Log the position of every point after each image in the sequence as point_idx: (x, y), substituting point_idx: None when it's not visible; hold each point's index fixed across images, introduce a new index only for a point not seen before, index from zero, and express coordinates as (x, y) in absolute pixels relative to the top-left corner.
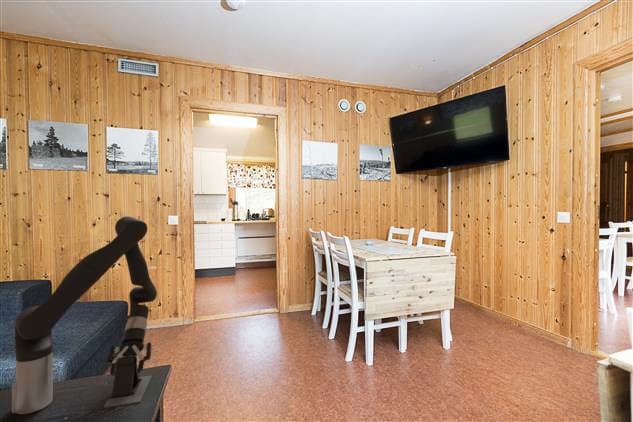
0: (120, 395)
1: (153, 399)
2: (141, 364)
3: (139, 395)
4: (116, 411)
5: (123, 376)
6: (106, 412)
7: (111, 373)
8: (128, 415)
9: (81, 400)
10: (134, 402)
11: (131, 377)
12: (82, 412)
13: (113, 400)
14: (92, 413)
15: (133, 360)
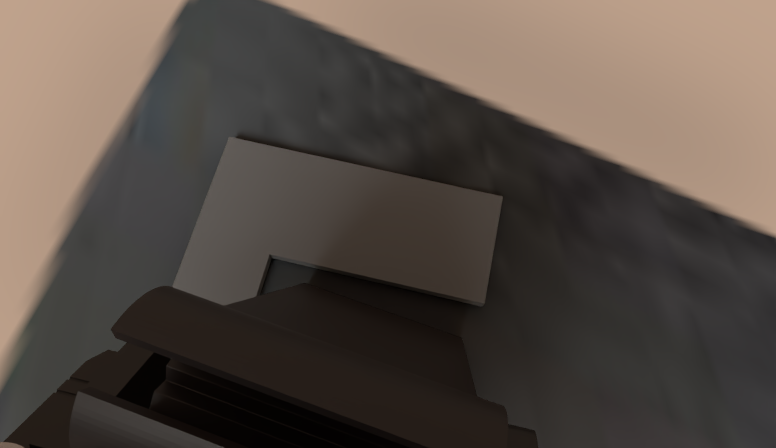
0: (385, 311)
1: (131, 138)
2: (68, 407)
3: (226, 227)
4: (399, 114)
5: (359, 338)
6: (468, 136)
7: (532, 432)
8: (317, 32)
9: (729, 438)
10: (272, 147)
11: (263, 299)
12: (649, 223)
13: (437, 254)
14: (568, 172)
15: (160, 292)
